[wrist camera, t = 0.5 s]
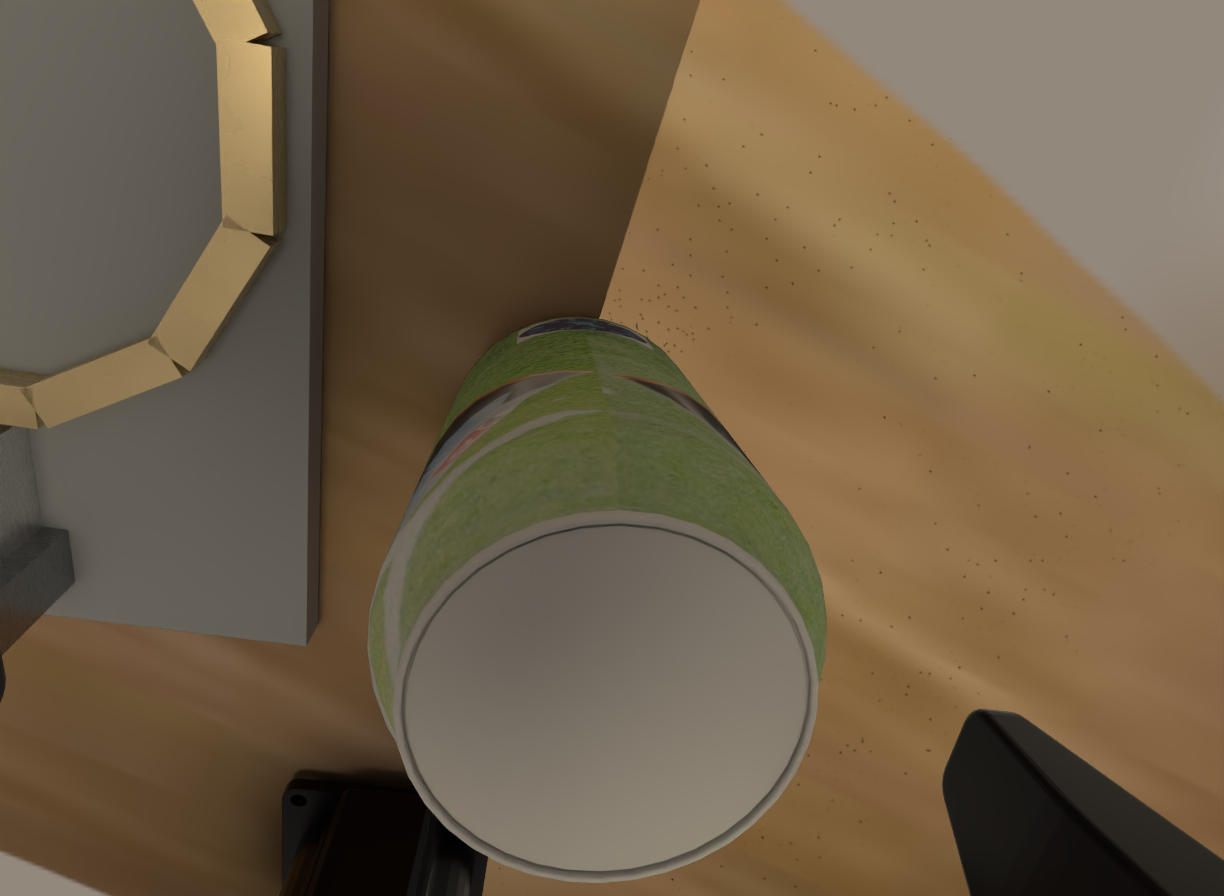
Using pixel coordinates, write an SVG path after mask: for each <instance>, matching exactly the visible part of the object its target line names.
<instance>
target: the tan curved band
mask: <svg viewBox="0 0 1224 896" xmlns="http://www.w3.org/2000/svg"><path fill="white" fill-rule="evenodd" d="M193 2H194V4H195V5H196V7H197V9H198V11H199V13H200V15H201V17H202V19H203V21H204V23H205V25H206V27H207V28H208V30H209V32H210V34H211V36H212V38H213V40H214V42H215V44H216V53H217V81H218V109H219V138H220V166H221V194H222V222H221V224H220V225H219V227H218V229H217V230H216V232H215V234H214V235H213V237H212V238H211V240H210V242H209V243H208V245H207V247H206V248H205V250H204V252H203V253H202V255H201V256H200V258H199V260H198V261H197V263H196V265H195V266H194V268H193V269H192V271H191V273H190V274H189V276H188V278H187V279H186V281H185V283H184V284H183V286H182V287H181V289H180V291H179V292H178V294H177V296H176V297H175V299H174V301H173V302H172V304H171V305H170V307H169V309H168V310H167V312H166V314H165V315H164V317H163V319H162V320H161V322H160V323H159V325H158V327H157V328H156V330H155V332H154V333H153V334H150V335H147V336H145V337H142V338H140V339H137V340H135V341H132V342H130V343H127V344H125V345H122V346H119V347H117V348H114V349H112V350H109V351H107V352H104V353H102V354H99V355H97V356H94V357H91V358H89V359H86V360H84V361H81V362H79V363H76V364H74V365H71V366H69V367H66V368H63V369H61V370H58V371H56V372H53V373H51V374H48V375H45V374H38V373H31V372H24V371H18V370H11V369H4V368H0V649H1V654H2V655H3V654H4V653H5V652H6V651H7V650H8V649H9V648H10V647H11V646H12V645H13V644H14V643H15V642H16V641H17V640H18V639H19V638H20V637H21V636H22V635H23V634H24V633H25V632H26V631H27V630H28V629H29V628H30V627H31V626H32V625H33V624H34V623H35V622H36V621H37V620H38V619H39V618H40V617H41V616H42V615H43V614H44V613H45V612H46V611H47V610H48V609H49V608H50V607H51V606H52V605H53V604H54V603H55V602H56V601H57V600H58V599H59V598H60V597H61V596H62V595H63V594H64V593H65V592H66V591H67V590H68V589H69V588H70V587H71V586H72V585H73V584H74V583H75V575H74V567H73V560H72V553H71V546H70V538H69V531H68V530H66V529H58V528H51V527H43V521H42V515H41V508H40V502H39V495H38V489H37V482H36V475H35V469H34V462H33V456H32V449H31V443H30V436H29V430H28V428H32V429H39V428H41V427H42V426H44V425H46V426H47V427H48V428H51V427H53V426H56V425H58V424H61V423H64V422H66V421H69V420H72V419H74V418H77V417H79V416H82V415H85V414H87V413H90V412H93V411H95V410H98V409H100V408H103V407H106V406H108V405H111V404H113V403H116V402H119V401H121V400H124V399H127V398H129V397H132V396H134V395H137V394H140V393H142V392H145V391H147V390H150V389H153V388H155V387H158V386H161V385H163V384H166V383H168V382H171V381H174V380H176V379H179V378H181V377H183V376H185V375H186V374H187V373H188V372H190V371H191V370H192V369H194V368H195V367H196V366H198V365H199V364H200V363H201V362H203V361H204V360H205V359H206V358H207V357H208V355H209V353H210V352H211V350H212V349H213V347H214V346H215V344H216V343H217V341H218V340H219V338H220V337H221V335H222V333H223V332H224V330H225V329H226V327H227V326H228V324H229V323H230V321H231V320H232V318H233V316H234V315H235V313H236V312H237V310H238V309H239V307H240V306H241V304H242V303H243V301H244V300H245V298H246V296H247V295H248V293H249V292H250V290H251V289H252V287H253V286H254V284H255V283H256V281H257V280H258V278H259V276H260V275H261V273H262V272H263V270H264V269H265V267H266V266H267V264H268V263H269V261H270V260H271V258H272V256H273V255H274V253H275V252H276V250H277V249H278V247H279V246H280V244H281V243H282V241H283V238H282V237H280V236H279V235H278V234H277V233H279V232H281V231H283V230H285V229H287V109H286V47H281V46H275V45H270V44H265V43H263V42H265V41H267V40H270V39H272V38H274V37H276V36H279V35H281V34H283V32H282V30H281V28H280V26H279V24H278V22H277V20H276V18H275V16H274V14H273V12H272V10H271V8H270V6H269V4H268V2H267V0H193Z"/></svg>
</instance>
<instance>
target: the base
mask: <svg viewBox="0 0 1224 896" xmlns="http://www.w3.org/2000/svg"><path fill="white" fill-rule="evenodd" d="M267 2H268V4H269V6H270V8H271V10H272V12H273V14H274V16H275V18H276V20H277V22H278V24H279V26H280V28H281V30H282V32H283V34H281V35H279V36H276V37H274V38H272V39H270V40H267V41H265V42H263V43H265V44H270V45H275V46H281V47H286V109H287V229H285V230H283V231H281V232H279V233H277V234H278V235H279V236H280V237H282V238H283V241H282V243H281V244H280V246H279V247H278V249H277V250H276V252H275V253H274V255H273V256H272V258H271V260H270V261H269V263H268V264H267V266H266V267H265V269H264V270H263V272H262V273H261V275H260V276H259V278H258V280H257V281H256V283H255V284H254V286H253V287H252V289H251V290H250V292H249V293H248V295H247V296H246V298H245V300H244V301H243V303H242V304H241V306H240V307H239V309H238V310H237V312H236V313H235V315H234V316H233V318H232V320H231V321H230V323H229V324H228V326H227V327H226V329H225V330H224V332H223V333H222V335H221V337H220V338H219V340H218V341H217V343H216V344H215V346H214V347H213V349H212V350H211V352H210V353H209V355H208V357H207V358H206V359H205V360H204V361H203V362H201V363H200V364H199V365H198V366H196V367H195V368H194V369H192V370H191V371H190V372H188V373H187V374H186V375H185V376H183V377H181V378H179V379H176V380H174V381H171V382H168V383H166V384H163V385H161V386H158V387H155V388H153V389H150V390H147V391H145V392H142V393H140V394H137V395H134V396H132V397H129V398H127V399H124V400H121V401H119V402H116V403H113V404H111V405H108V406H106V407H103V408H100V409H98V410H95V411H93V412H90V413H87V414H85V415H82V416H79V417H77V418H74V419H72V420H69V421H66V422H64V423H61V424H58V425H56V426H53V427H51V428H48V427H47V426H46V425H44V426H42V427H41V428H39V429H32V428H28V430H29V436H30V443H31V449H32V456H33V462H34V469H35V475H36V482H37V489H38V495H39V502H40V508H41V515H42V521H43V527H51V528H58V529H66V530H68V531H69V538H70V546H71V553H72V560H73V567H74V575H75V583H74V584H73V585H72V586H71V587H70V588H69V589H68V590H67V591H66V592H65V593H64V594H63V595H62V596H61V597H60V598H59V599H58V600H57V601H56V602H55V603H54V604H53V605H52V606H51V607H50V608H49V609H48V610H47V611H46V612H45V613H44V614H45V615H53V616H62V617H70V618H78V619H86V620H94V621H102V622H111V623H119V624H127V625H135V626H143V627H152V628H160V629H168V630H176V631H184V632H192V633H201V634H209V635H217V636H225V637H233V638H241V639H250V640H258V641H266V642H274V643H282V644H291V645H299V646H307V644H308V642H309V640H310V638H311V636H312V634H313V632H314V630H315V628H316V626H317V624H318V586H319V530H320V474H321V418H322V362H323V306H324V251H325V195H326V139H327V83H328V27H329V0H267ZM221 222H222V194H221V166H220V138H219V109H218V81H217V53H216V44H215V42H214V40H213V38H212V36H211V34H210V32H209V30H208V28H207V27H206V25H205V23H204V21H203V19H202V17H201V15H200V13H199V11H198V9H197V7H196V5H195V4H194V2H193V0H0V368H4V369H11V370H18V371H24V372H31V373H38V374H45V375H48V374H51V373H53V372H56V371H58V370H61V369H63V368H66V367H69V366H71V365H74V364H76V363H79V362H81V361H84V360H86V359H89V358H91V357H94V356H97V355H99V354H102V353H104V352H107V351H109V350H112V349H114V348H117V347H119V346H122V345H125V344H127V343H130V342H132V341H135V340H137V339H140V338H142V337H145V336H147V335H150V334H153V333H154V332H155V330H156V328H157V327H158V325H159V323H160V322H161V320H162V319H163V317H164V315H165V314H166V312H167V310H168V309H169V307H170V305H171V304H172V302H173V301H174V299H175V297H176V296H177V294H178V292H179V291H180V289H181V287H182V286H183V284H184V283H185V281H186V279H187V278H188V276H189V274H190V273H191V271H192V269H193V268H194V266H195V265H196V263H197V261H198V260H199V258H200V256H201V255H202V253H203V252H204V250H205V248H206V247H207V245H208V243H209V242H210V240H211V238H212V237H213V235H214V234H215V232H216V230H217V229H218V227H219V225H220V224H221Z"/></svg>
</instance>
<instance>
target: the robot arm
mask: <svg viewBox="0 0 1224 896" xmlns="http://www.w3.org/2000/svg"><path fill="white" fill-rule="evenodd" d="M5 682H6V677H5V670H4V665H3V660H2V654H1V649H0V702H1V700H2V697H3V694H4V690H5ZM942 787H943V796H944V800H945V804H946V808H947V812H948V815H949V819H950V823H951V827H952V830H953V834H954V838H955V842H956V845H957V849H958V853H959V856H960V860H961V864H962V868H963V871H964V875H965V879H966V883H967V886H968V890H969V894H970V896H1224V860H1223V859H1221V858H1220V857H1218V856H1217V855H1216V854H1214V853H1213V852H1211V851H1210V850H1209V849H1207V848H1206V847H1204V846H1203V845H1202V844H1200V843H1199V842H1197V841H1196V840H1195V839H1193V838H1192V837H1190V836H1189V835H1188V834H1186V833H1185V832H1183V831H1182V830H1181V829H1179V828H1178V827H1176V826H1175V825H1174V824H1172V823H1171V822H1169V821H1168V820H1167V819H1165V818H1164V817H1162V816H1161V815H1160V814H1158V813H1157V812H1155V811H1154V810H1153V809H1151V808H1150V807H1148V806H1147V805H1146V804H1144V803H1143V802H1141V801H1140V800H1139V799H1137V798H1136V797H1134V796H1133V795H1132V794H1130V793H1129V792H1128V791H1126V790H1125V789H1123V788H1122V787H1121V786H1119V785H1118V784H1116V783H1115V782H1114V781H1112V780H1111V779H1109V778H1108V777H1107V776H1105V775H1104V774H1102V773H1101V772H1100V771H1098V770H1097V769H1095V768H1094V767H1093V766H1091V765H1090V764H1088V763H1087V762H1086V761H1084V760H1083V759H1081V758H1080V757H1079V756H1077V755H1076V754H1074V753H1073V752H1072V751H1070V750H1069V749H1067V748H1066V747H1065V746H1063V745H1062V744H1060V743H1059V742H1058V741H1056V740H1055V739H1053V738H1052V737H1051V736H1049V735H1048V734H1046V733H1045V732H1044V731H1042V730H1041V729H1039V728H1038V727H1037V726H1035V725H1034V724H1032V723H1031V722H1030V721H1028V720H1027V719H1025V718H1024V717H1022V716H1021V715H1019V714H1016V713H1013V712H1007V711H997V710H988V709H978V710H974V711H973V712H971V713H970V714H969V715H968V716H967V718H966V720H965V722H964V724H963V727H962V729H961V732H960V734H959V736H958V739H957V741H956V743H955V746H954V748H953V751H952V753H951V755H950V758H949V760H948V762H947V765H946V767H945V770H944V774H943V785H942ZM487 860H488V856H486V855H484V854H482V853H480V852H478V851H476V850H475V849H473V848H471V847H470V846H469V845H467V844H466V843H465V842H464V841H462V840H461V839H460V838H458V837H457V836H456V835H455V834H453V833H452V832H451V831H449V830H448V829H447V828H446V827H445V826H444V825H443V824H442V823H441V822H440V820H439V819H438V818H437V817H436V816H435V815H434V814H433V813H432V811H431V810H430V809H429V808H428V807H427V806H426V805H425V804H424V802H423V800H422V799H421V797H420V795H419V794H418V792H417V791H414V790H405V789H396V788H386V787H377V786H368V785H359V784H350V783H340V782H331V781H322V780H313V779H303V778H302V779H294V780H292V781H290V782H289V783H288V785H287V787H286V789H285V792H284V794H283V797H282V873H283V887H282V889H281V892H280V895H279V896H482V892H483V886H484V879H485V873H486V866H487Z"/></svg>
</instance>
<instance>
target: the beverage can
mask: <svg viewBox="0 0 1224 896" xmlns="http://www.w3.org/2000/svg"><path fill="white" fill-rule="evenodd" d="M826 632H827V614H826V608H825V601H824V594H823V587H822V581H821V578H820V575H819V572H818V569H817V566H816V564H815V561H814V558H813V555H812V552H811V550H810V547H809V544H808V542H807V541H806V539H805V537H804V536H803V534H802V532H801V531H800V529H799V527H798V526H797V524H796V522H795V521H794V519H793V517H792V516H791V514H790V512H789V511H788V509H787V508H786V507H785V506H784V504H783V503H782V502H781V500H780V499H779V498H778V496H777V495H776V494H775V493H774V491H773V490H772V489H771V487H770V486H769V485H768V483H767V482H766V481H765V480H764V478H763V477H762V476H761V474H760V473H759V472H758V471H757V469H756V468H755V467H754V465H753V464H752V463H751V461H750V460H749V459H748V458H747V456H746V455H745V454H744V452H743V451H742V450H741V448H740V447H739V446H738V445H737V443H736V442H735V441H734V439H733V438H732V437H731V435H730V434H729V433H728V432H727V430H726V429H725V428H724V426H723V425H722V424H721V422H720V421H719V420H718V419H717V417H716V416H715V415H714V413H713V412H712V411H711V409H710V408H709V407H708V406H707V404H706V403H705V402H704V400H703V399H702V398H701V396H700V395H699V394H698V393H697V391H696V390H695V389H694V387H693V386H692V385H691V384H690V382H689V381H688V380H687V378H686V377H685V376H684V374H683V373H682V372H681V371H680V369H679V368H678V367H677V365H676V364H675V363H674V362H673V361H672V360H671V359H670V358H669V357H668V355H667V354H666V353H665V352H664V351H663V350H662V349H661V348H659V347H658V346H657V345H655V344H654V343H653V342H652V341H650V340H649V339H648V338H646V337H645V336H643V335H641V334H639V333H637V332H635V331H634V330H632V329H630V328H628V327H626V326H623V325H620V324H617V323H613V322H610V321H607V320H604V319H596V318H588V317H561V318H554V319H550V320H545V321H541V322H537V323H534V324H531V325H529V326H527V327H524V328H522V329H519V330H517V331H515V332H513V333H511V334H510V335H508V336H507V337H505V338H504V339H502V340H501V341H499V342H498V343H496V344H495V345H494V346H493V347H491V348H490V349H489V350H488V351H487V352H486V353H485V354H484V355H483V356H482V357H481V358H480V359H479V360H478V361H477V362H476V364H475V365H474V367H473V368H472V369H471V371H470V372H469V373H468V375H467V376H466V377H465V379H464V381H463V383H462V386H461V388H460V390H459V392H458V394H457V396H456V398H455V400H454V402H453V405H452V407H451V409H450V412H449V414H448V416H447V418H446V421H445V423H444V425H443V428H442V430H441V432H440V435H439V437H438V439H437V441H436V444H435V446H434V448H433V451H432V453H431V455H430V457H429V460H428V462H427V464H426V467H425V469H424V471H423V473H422V476H421V478H420V480H419V483H418V485H417V487H416V489H415V492H414V494H413V496H412V499H411V501H410V503H409V505H408V508H407V510H406V512H405V515H404V517H403V519H402V521H401V524H400V526H399V528H398V531H397V533H396V535H395V537H394V540H393V542H392V544H391V547H390V549H389V551H388V553H387V556H386V558H385V560H384V563H383V565H382V567H381V570H380V573H379V576H378V580H377V584H376V588H375V591H374V595H373V599H372V603H371V606H370V613H369V629H368V646H367V651H368V657H369V664H370V671H371V678H372V685H373V690H374V693H375V696H376V698H377V701H378V704H379V707H380V710H381V712H382V715H383V718H384V721H385V723H386V726H387V728H388V729H389V731H390V733H391V735H392V736H393V738H394V740H395V741H396V743H397V746H398V749H399V752H400V755H401V758H402V760H403V763H404V766H405V769H406V772H407V775H408V777H409V779H410V780H411V782H412V784H413V785H414V787H415V789H416V790H417V792H418V794H419V795H420V797H421V799H422V800H423V802H424V804H425V805H426V806H427V807H428V808H429V809H430V810H431V811H432V813H433V814H434V815H435V816H436V817H437V818H438V819H439V820H440V822H441V823H442V824H443V825H444V826H445V827H446V828H447V829H448V830H449V831H451V832H452V833H453V834H455V835H456V836H457V837H458V838H460V839H461V840H462V841H464V842H465V843H466V844H467V845H469V846H470V847H471V848H473V849H475V850H476V851H478V852H480V853H482V854H484V855H486V856H488V857H489V858H491V859H493V860H495V861H497V862H499V863H501V864H503V865H506V866H509V867H512V868H514V869H517V870H520V871H523V872H526V873H529V874H532V875H536V876H541V877H546V878H551V879H557V880H562V881H571V882H592V883H604V882H615V881H626V880H635V879H639V878H644V877H648V876H652V875H657V874H661V873H665V872H669V871H671V870H674V869H676V868H679V867H682V866H684V865H687V864H689V863H692V862H695V861H697V860H700V859H701V858H703V857H705V856H707V855H709V854H710V853H712V852H714V851H716V850H718V849H719V848H721V847H723V846H725V845H727V844H728V843H730V842H731V841H732V840H734V839H735V838H736V837H738V836H739V835H740V834H741V833H743V832H744V831H745V830H747V829H748V828H749V827H751V826H752V825H753V824H754V823H756V822H757V821H758V819H759V818H760V817H761V816H762V815H763V814H764V813H765V812H766V811H767V810H768V809H769V808H770V807H771V806H772V805H773V804H774V803H775V802H776V801H777V800H778V798H779V797H780V795H781V794H782V792H783V791H784V789H785V788H786V787H787V785H788V784H789V782H790V781H791V779H792V778H793V776H794V775H795V773H796V771H797V769H798V767H799V765H800V763H801V760H802V758H803V756H804V754H805V752H806V749H807V747H808V745H809V743H810V739H811V735H812V730H813V726H814V722H815V718H816V714H817V701H818V685H819V681H820V677H821V673H822V669H823V665H824V661H825V651H826Z"/></svg>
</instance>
